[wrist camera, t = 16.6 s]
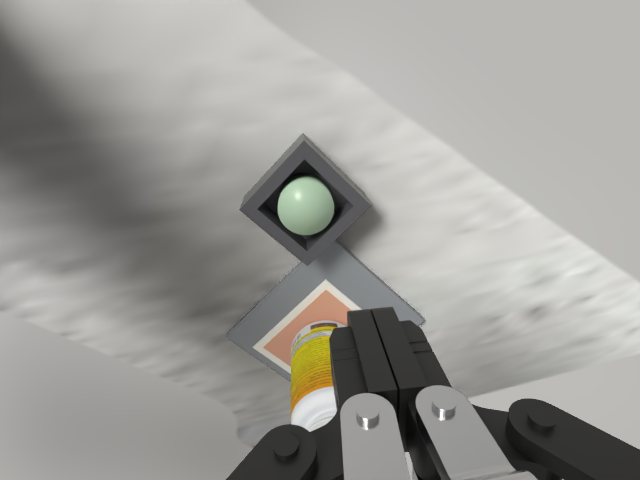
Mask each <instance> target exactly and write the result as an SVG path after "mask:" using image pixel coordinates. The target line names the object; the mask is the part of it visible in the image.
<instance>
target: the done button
mask: <svg viewBox="0 0 640 480" xmlns="http://www.w3.org/2000/svg"><path fill="white" fill-rule="evenodd" d="M333 214H334V202H333V199H332V195H331V192H330V189H329V187H328V186H327V184H326V183H325V182H324V181H323V180H322V179H321V178H319V177H317V176H315V175H312V174H298V175H295V176H293V177H291V178H290V179H288V180H287V181H286V182H285V183H284V184H283V186H282V188H281V190H280V193H279V200H278V215H279V218H280V220H281V222H282V223H283V225H284V226H285V227H286V228H287V229H289V230H290V231H292V232H294V233H296V234H300V235H312V234H315V233H318V232H320V231H322V230H323V229H324V228H325V227H327V225H328V224H329V223H330V221H331V219H332V217H333Z"/></svg>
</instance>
